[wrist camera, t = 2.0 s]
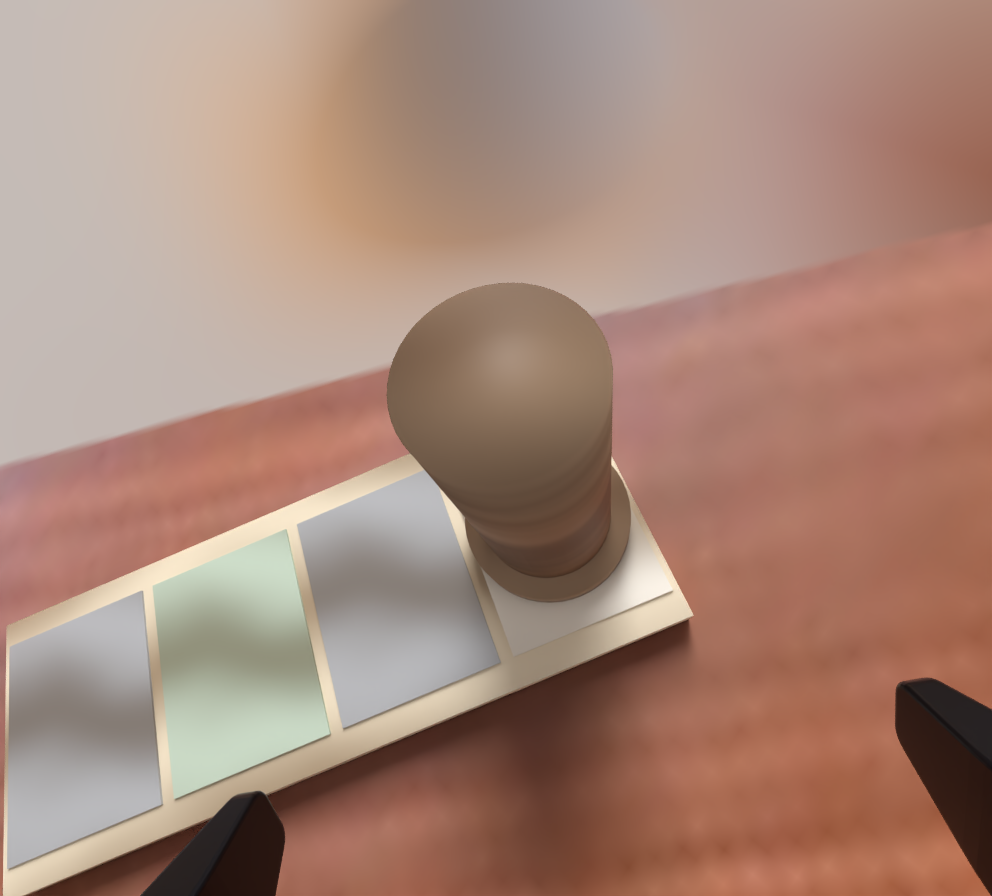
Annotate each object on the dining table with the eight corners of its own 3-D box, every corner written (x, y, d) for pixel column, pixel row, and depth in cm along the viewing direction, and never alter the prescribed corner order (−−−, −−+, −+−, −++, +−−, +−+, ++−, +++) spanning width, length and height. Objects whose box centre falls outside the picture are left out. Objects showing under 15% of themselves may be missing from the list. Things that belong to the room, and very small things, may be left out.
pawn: (659, 563, 20) (710, 441, 10) (503, 629, 20) (400, 573, 10) (588, 424, 23) (572, 217, 13) (450, 483, 23) (326, 323, 13)
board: (688, 619, 20) (693, 614, 19) (34, 892, 21) (-1, 905, 20) (575, 396, 25) (573, 382, 23) (32, 628, 25) (4, 625, 24)
